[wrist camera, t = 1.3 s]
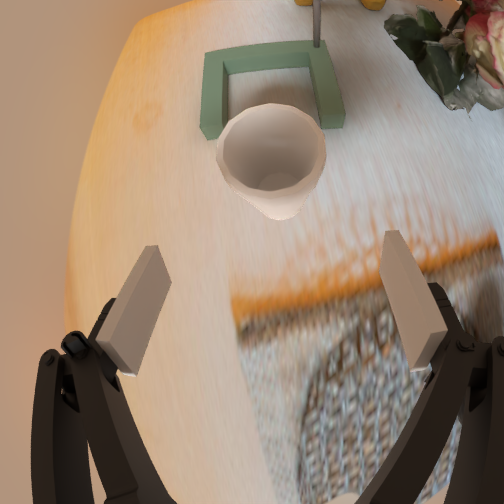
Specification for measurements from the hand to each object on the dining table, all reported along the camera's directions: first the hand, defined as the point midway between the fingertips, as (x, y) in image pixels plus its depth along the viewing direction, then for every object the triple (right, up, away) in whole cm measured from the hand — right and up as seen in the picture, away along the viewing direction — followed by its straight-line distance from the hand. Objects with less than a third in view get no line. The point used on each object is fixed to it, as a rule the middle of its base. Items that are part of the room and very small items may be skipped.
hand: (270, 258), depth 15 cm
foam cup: (+3, +7, +21) cm, 22 cm away
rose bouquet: (+39, +36, +20) cm, 56 cm away
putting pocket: (+4, +25, +23) cm, 34 cm away
